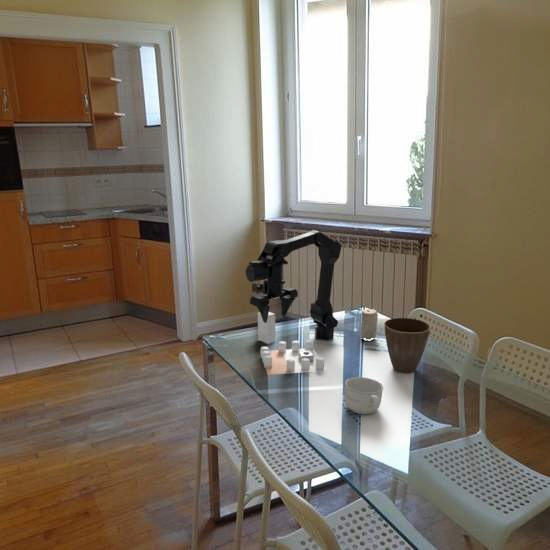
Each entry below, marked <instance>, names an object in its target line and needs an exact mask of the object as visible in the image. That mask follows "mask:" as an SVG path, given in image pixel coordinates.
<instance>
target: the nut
mask: <svg viewBox="0 0 550 550" xmlns="http://www.w3.org/2000/svg"><path fill="white" fill-rule="evenodd" d="M298 358H299V359H300V361H301V359H303V358H308V359H310V362H314V355H313V353H312V352H311V351H299V357H298Z"/></svg>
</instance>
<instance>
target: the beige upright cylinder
mask: <svg viewBox="0 0 550 550" xmlns="http://www.w3.org/2000/svg"><path fill="white" fill-rule="evenodd" d="M378 317H379V315H378V312H377V310H375V309H373V308H372V309H365V308H364V309H362V310H361V321H360V329H359V330H360V331H359V333H360V334H359V335H360V336H359V337H360V339H361V338H366V339H371V338H375V337H376V338H377V334H378V333H377V331H378V321H379V320H378ZM376 338H375V339H376Z"/></svg>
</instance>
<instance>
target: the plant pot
mask: <svg viewBox="0 0 550 550" xmlns="http://www.w3.org/2000/svg"><path fill="white" fill-rule="evenodd" d="M383 325H384V335H385V342H386V347H387V351H388V356H389V359H390V363H391V366H392V369H393V368H394V369H393V370H394V371H395V370H396V372H398V373H400V374H412V373H415V372H416V369H417V368H418V366H419V364H420V362H421V359H422V357H423V354H424V353H425V350H426V346H427V343H428V338H429V336H430V331H431V326H430V324H429V323H427V322H425V321H423V320H421V319H415V318H409V317H394V318H389V319H387V320H385V321H384V322H383Z"/></svg>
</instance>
